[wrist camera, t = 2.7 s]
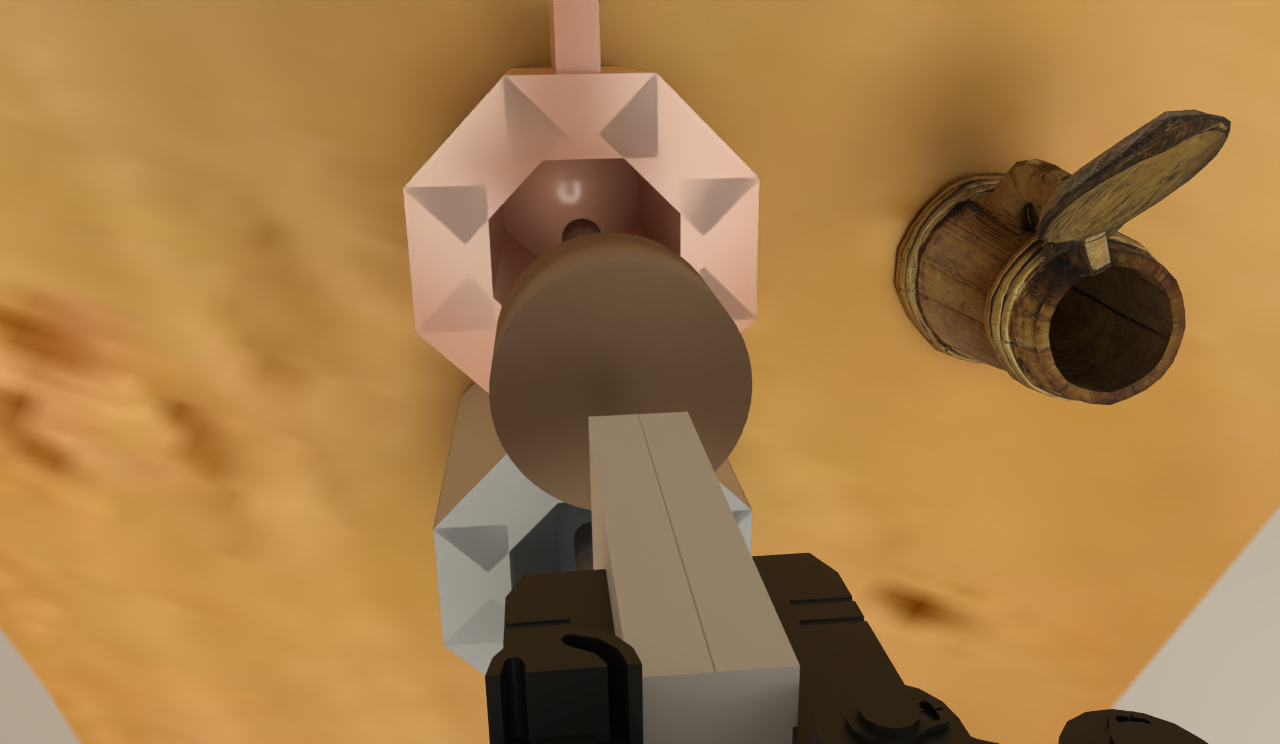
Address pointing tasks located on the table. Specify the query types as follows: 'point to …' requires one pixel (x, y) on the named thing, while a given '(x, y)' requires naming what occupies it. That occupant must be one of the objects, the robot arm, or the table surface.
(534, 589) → the robot arm
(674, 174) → the pink octagonal mug
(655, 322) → the taupe plunger
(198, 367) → the table surface
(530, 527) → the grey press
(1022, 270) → the wooden mug
